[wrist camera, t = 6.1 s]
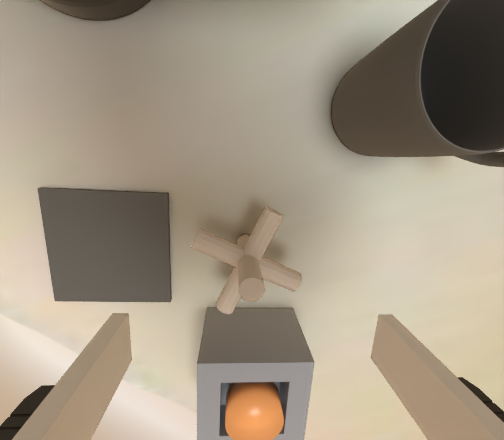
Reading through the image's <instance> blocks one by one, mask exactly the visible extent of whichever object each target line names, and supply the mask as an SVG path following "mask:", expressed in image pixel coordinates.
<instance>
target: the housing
mask: <svg viewBox="0 0 504 440" xmlns="http://www.w3.org/2000/svg"><path fill="white" fill-rule="evenodd" d="M313 369H314V360H313V357H312V355H311V352H310V350H309V347H308V345H307V342H306V340H305V337H304V335H303V332H302V330H301V327H300V324H299V322H298V319H297V317H296V314H295V312H294V309H293V308H235V309H234V311H233V313H231V314H225V313H223V312H221V311H219V310H218V308H207V312H206V317H205V323H204V329H203V334H202V340H201V345H200V351H199V356H198V362H197V440H232V439H231V438H230V437H229V435H228V434H227V432H226V428H225V415H226V394H227V391H228V388H229V387H230V385H231V384H232V383H240V382H274V383H275V384H276V385H277V387H278V391H279V396H280V401H281V406H282V412H283V417H284V424H283V428H282V430H281V432H280V433H279V434H278V435H277V436H276V437H275V438H274V439H273V440H304V436H305V428H306V421H307V414H308V406H309V399H310V391H311V384H312V377H313Z"/></svg>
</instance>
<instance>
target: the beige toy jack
mask: <svg viewBox="0 0 504 440" xmlns="http://www.w3.org/2000/svg"><path fill="white" fill-rule="evenodd" d="M283 217H284V216H283V215H282V214H280V213H279V212H277V211H275V210H273V209H271V208H268V207H265V208H264V210H263V212H262V214H261V216H260V218H259V220H258V222H257V224H256V226H255V228H254V230H253V232H252V233H251V235H247V234H244V235H241V236H240V237H239V238H238V240H237V245H236V244H234V243H231V242H229V241H227V240H225V239H222V238H220V237H218V236H216V235H213V234H211V233H209V232H207V231H204V230H202V229H199V231H198V233H197V235H196V237H195V240H194V242H193V244H192V246H191V248H193V249H195V250H197V251H200V252H202V253H204V254H207V255H209V256H211V257H214V258H216V259H218V260H221V261H223V262H225V263H228V264H230V265H232V266H235V267H234V268H233V270H232V272H231V274H230V276H229V278H228V280H227V282H226V284H225V286H224V288H223V290H222V292H221V294H220V296H219V298H218V300H217V302H216V307H217V308H218V310H219V311H221V312H223V313H225V314H231V313H233V311H234V309H235V307H236V305H237V303H238V301H239V300H240V298H241V297H242V298H243V299H244V300H246V301H256V300H259V299H260V298H261V297H262V296H263V294H264V292H265V287H264V283H263V279H265V280H268V281H270V282H272V283H275V284H277V285H279V286H282V287H284V288H286V289H289V290H291V291H293V292H294V291H296V290H297V289H298V288H299V286H300V283H301V280H302V275H301V273H299V272H297V271H294V270H292V269H290V268H288V267H285V266H283V265H281V264H279V263H276V262H274V261H272V260H270V259H267V258H265V257H263V255H264V253H265V251H266V249H267V247H268V245H269V243H270V242H271V240H272V238H273V236H274V234H275V232H276V230H277V228H278V227H279V225H280V223H281V221H282V219H283ZM262 278H263V279H262Z"/></svg>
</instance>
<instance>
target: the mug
mask: <svg viewBox="0 0 504 440" xmlns="http://www.w3.org/2000/svg"><path fill="white" fill-rule="evenodd" d="M332 121H333V125H334V129H335V131H336V133H337V135H338V137H339V139H340V140H341V141H342V142H343V144H344V145H345V146H347V147H348V148H349V149H350V150H352V151H354V152H356V153H359V154H362V155H367V156H378V157H429V156H456V157H458V158H461V159H464V160H467V161H470V162H473V163H477V164H480V165H486V166H495V167H504V152H495V151H499V150H503V149H504V0H438V1H436V2H435V3H434V4H432V5H431V6H430V7H428V8H427V9H426V10H424V11H423V12H422V13H420V14H419V15H418V16H416V17H415V18H414V19H412V20H411V21H410V22H409V23H407V24H406V25H405V26H403V27H402V28H401V29H399V30H398V31H397V32H396V33H394V34H393V35H392V36H390V37H389V38H388V39H387V40H385V41H384V42H383V43H382V44H380V45H379V46H378V47H376V48H375V49H374V50H373V51H371V52H370V53H369V54H368V55H366V56H365V57H364V58H363V59H362V60H360V61H359V62H358V63H357V64H356V65H355V66H354V67H353V68H352V69H351V70H350V71H349V72H348V73H347V74H346V75H345V76H344V78H343V79H342V80H341V82H340V84H339V85H338V87H337V90H336V92H335V95H334V98H333V103H332Z"/></svg>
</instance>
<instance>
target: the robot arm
mask: <svg viewBox="0 0 504 440" xmlns="http://www.w3.org/2000/svg"><path fill="white" fill-rule="evenodd" d="M41 1H42V2H44V3H45V4H47V5H49V6H50V7H52V8H54V9H56V10H58V11H60V12H63V13H65V14H68V15H71V16H74V17H78V18H83V19H90V20H106V19H113V18H118V17H121V16H124V15H127V14H129V13H131V12H133V11H135V10H137V9H138V8H140V7H142V6H143V5H144V4H146V3H147V2H148V1H149V0H41ZM371 359H372V360H373V362H374V363H375V364H376V366H377V367H378V369H379V370H380V372H381V373H382V374H383V376H384V377H385V379H386V380H387V382H388V383H389V385H390V386H391V387H392V389H393V390H394V392H395V393H396V395H397V396H398V397H399V399H400V400H401V402H402V403H403V405H404V406H405V408H406V409H407V410H408V412H409V413H410V415H411V416H412V418H413V419H414V420H415V422H416V423H417V425H418V426H419V428H420V429H421V430H422V432H423V433H424V435H425V436H426V438H427V439H428V440H504V411H503V410H501V409H500V408H499V407H498V406H497V405H496V404H495V403H493V402H492V400H491V399H490V398H489V397H487V396H486V395H485V394H484V393H483V392H482V391H481V390H480V389H479V388H477V387H476V386H474V385H473V384H471V383H470V382H468V381H467V380H465V379H464V378H462V377H459V378H457V377H456V376H455V375H454V374H453V373H452V372H451V371H450V370H449V369H448V368H447V367H446V366H445V365H444V364H443V363H442V362H441V361H440V360H439V359H438V358H437V357H435V356H434V355H433V354H432V353H431V352H430V351H429V350H428V349H427V348H426V347H425V346H424V345H423V344H422V343H421V342H420V341H419V340H418V339H417V338H416V337H415V336H414V335H413V334H412V333H411V332H410V331H409V330H408V329H407V328H406V327H405V326H403V325H402V324H401V323H400V322H399V321H398V320H397V319H396V318H395V317H394V316H393V315H379V316H378V322H377V327H376V332H375V337H374V343H373V348H372V353H371ZM131 360H132V355H131V341H130V326H129V313H113V314H112V315H111V316H110V317H109V319H108V320H107V321H106V322H105V324H104V325H103V326H102V327H101V329H100V330H99V331H98V332H97V334H96V335H95V336H94V337H93V339H92V340H91V341H90V342H89V344H88V345H87V346H86V347H85V349H84V350H83V351H82V352H81V354H80V355H79V356H78V358H77V359H76V360H75V361H74V363H73V364H72V365H71V366H70V368H69V369H68V370H67V371H66V373H65V374H64V375H63V376H62V377H61V379H60V380H59V381H58V383H57V384H56V385H52V386H51V385H50V386H41V387H39V388H38V389H37V390H35V391H34V392H33V393H31V394H30V395H29V396H27V397H26V398H25V399H24V400H23V401H22V402H21V403H20V404H19V405H18V407H17V408H16V409H15V410H14V411H13V412H12V413H11V415H10V417H8V418H7V419H6V420H5V421H4V422H3V423H2V425H1V426H0V440H91V438H92V436H93V434H94V432H95V430H96V428H97V426H98V425H99V422H100V420H101V419H102V417H103V415H104V413H105V411H106V409H107V407H108V405H109V403H110V401H111V399H112V397H113V395H114V393H115V391H116V390H117V388H118V386H119V384H120V381H121V380H122V378H123V376H124V374H125V372H126V370H127V368H128V366H129V364H130V362H131Z"/></svg>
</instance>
